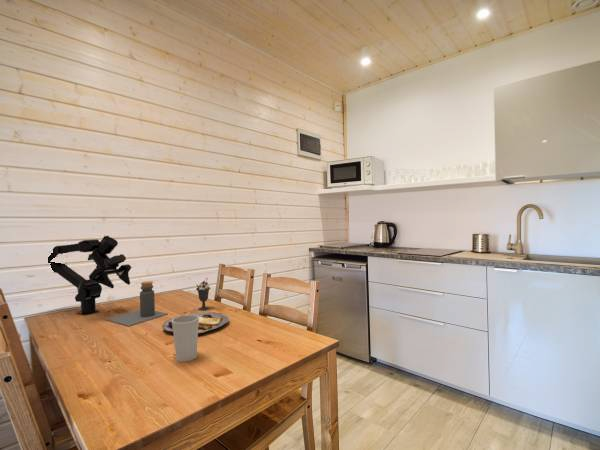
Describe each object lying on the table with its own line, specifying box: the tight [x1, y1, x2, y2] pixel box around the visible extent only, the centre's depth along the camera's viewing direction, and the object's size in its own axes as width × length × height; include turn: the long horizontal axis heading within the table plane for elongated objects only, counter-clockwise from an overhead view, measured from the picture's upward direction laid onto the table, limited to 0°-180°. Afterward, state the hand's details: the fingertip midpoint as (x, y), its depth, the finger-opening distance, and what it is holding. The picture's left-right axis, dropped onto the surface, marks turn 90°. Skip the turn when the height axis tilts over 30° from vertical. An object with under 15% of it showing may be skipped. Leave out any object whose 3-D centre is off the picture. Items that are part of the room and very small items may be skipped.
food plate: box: [162, 311, 230, 334], centre depth 123 cm, size 25×23×4 cm
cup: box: [171, 314, 199, 362], centre depth 94 cm, size 8×8×12 cm
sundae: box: [195, 277, 211, 311], centre depth 146 cm, size 7×7×15 cm
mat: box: [104, 309, 169, 328], centre depth 135 cm, size 18×18×1 cm
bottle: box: [139, 280, 156, 317], centre depth 136 cm, size 6×6×15 cm
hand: (121, 285), depth 138 cm, fingers open, 9 cm apart
